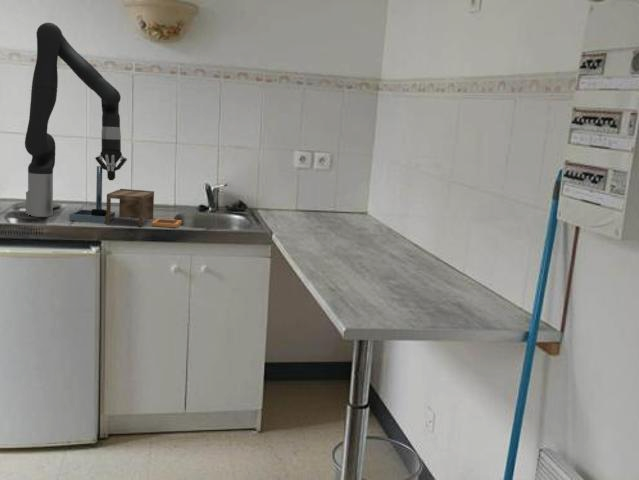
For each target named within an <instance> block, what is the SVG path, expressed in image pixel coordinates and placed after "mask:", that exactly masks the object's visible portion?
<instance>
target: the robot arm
mask: <svg viewBox="0 0 639 480" xmlns="http://www.w3.org/2000/svg"><path fill="white" fill-rule="evenodd" d="M36 50H37V51H36V62H35V66H34V71H33V75H32V80H31V81H32V83H31V90H30V106H29V115H28V118H29V119H28V124H27V129H26V135H25V137H24V138H25V139H24V148H25V150H26V152H27V153H28V154H29V155H30V156H31V161H30V163H29V165H28V166H27V191H26V192H25V215H26V214H28V215H27V216H29V215H31V216H30V217H37V218H38V217H39V218H45V217H46V218H48V217H52V216H53V212H54V210H53V209H54V205H53V203H54V201H53V199H54V168H55V164H56V142H55V139H54V137H53V136H52V134H50V133H48V128H49V127H48V125H49V120H50V118H51V115H52V112H53V110H54V108H55V105H56V103H57V95H58V85H59V84H58V83H59V81H58V80H59V79H58V78H59V77H58V76H59V75H58V58H60V60H62V61H63V62H64V64H66V65H67V66H68V67H69V68H70V69H71V70H72V72H73V73H74V74H75V75H76V76H77V77H78V78H79V79H80V81H82V82H83V83H84V84H85V85H86V86H87V87H88V88H89V89H90V90H92V91H94V93H95V94H96V95H97V96H98V97H99V99H101V103H100V104H101V111H102V112H101V113H102V114H101V151H100V154H99V155H98V156H96V157H95V161H96V162H97V163H98V164H99V166H101V167H102V170H104V171H106V172H107V173H106V174H107V175H106V176H107V180H109V181H114V180H115V179H116V171H119V170H120V169H121V168H122V167H123V166H124V165H125V163H126V162H127V161H128V158H126V157H124V156H123V154H122V151H121V150H122V148H121V147H122V146H121V145H122V143H121V139H122V135H121V134H122V133H121V117H120V116H121V115H120V113H119V112H120V111H119V109H120V108H119V106H120V102H121V94H120V92H119V90H117V89H116V87H114V86H113V85H112V84H111V83H110V82H109V81H107V80H106V78H105V77H104V76H103V75H102V74H101V73H100V72H99V71H98V70H97V69H96V68H95V67H94V66H93V65H92V64H91V63H89V61H88V60H87V59H85V58H84V57H83V56H82V55H81V54H80V53H79V52H78V51H77V50H75V48H74V47H73V46H72V45H71V44H70V43H69V41H67V39H66V38H65V36H64V35H63V32H62V30H61V28H60V27H59V26H58V25H56V24H55V23H52V22H44V23H42V24H40V25H39V26H38V27H37V30H36ZM103 160H104V161H103ZM119 161H120V162H119ZM117 162H119V163H118V164H117Z"/></svg>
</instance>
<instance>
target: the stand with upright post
mask: <svg viewBox="0 0 639 480" xmlns="http://www.w3.org/2000/svg"><path fill="white" fill-rule="evenodd" d="M95 192H96V193H95V194H96V196H95V197H96V198H95V201H96V203H95V209H103V207H102V206H103V205H102V203H103V202H102V201H103V168H102V167H101V166H100V165H97V166H96V191H95ZM91 211H92V209H78V210H76V211H73V212H71V213H70V214H68V215H69V216H68V217H69V218H68V220H69V221H78V222H88V223H89V222H90V223H91V222H93V223H103V224H106V215H105V216H93V215H91ZM115 217H116V211H110V221H111V220H113V219H115Z"/></svg>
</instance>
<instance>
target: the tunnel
mask: <svg viewBox="0 0 639 480" xmlns="http://www.w3.org/2000/svg"><path fill="white" fill-rule="evenodd" d="M111 199H113V200H119V204H118V205H119V207H118V209H119V215H118V217H119V218H126V217H130V218H131V219H138V227H139V226H140V228H143V227H142V226H144V225H143V223H144V220H153V221H154V211H155V210H154V209H155V208H154V207H155V206H154V205H155V204H154V203H155V191H154V190H142V189H130V188H129V189H127V188H119V189H117V190H114V191H111V192H109V193H107V194H106V210H107V211H106V223H105V224H106V225H109V226H110V225H111V220H110V212H111V209H112V207H111V205H112V203H111V201H112V200H111ZM130 218H129V219H130Z"/></svg>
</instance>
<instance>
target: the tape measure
mask: <svg viewBox="0 0 639 480" xmlns="http://www.w3.org/2000/svg"><path fill="white" fill-rule="evenodd" d="M91 210H92V211H91V215H93V216H105V215H106V211H107V209H103V208H102V209H96V208H92V209H91Z"/></svg>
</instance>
